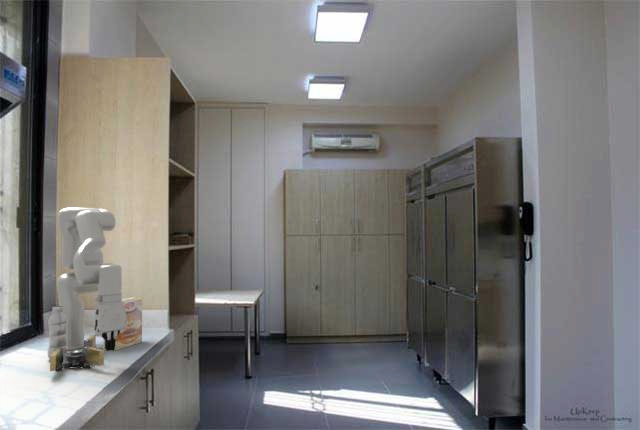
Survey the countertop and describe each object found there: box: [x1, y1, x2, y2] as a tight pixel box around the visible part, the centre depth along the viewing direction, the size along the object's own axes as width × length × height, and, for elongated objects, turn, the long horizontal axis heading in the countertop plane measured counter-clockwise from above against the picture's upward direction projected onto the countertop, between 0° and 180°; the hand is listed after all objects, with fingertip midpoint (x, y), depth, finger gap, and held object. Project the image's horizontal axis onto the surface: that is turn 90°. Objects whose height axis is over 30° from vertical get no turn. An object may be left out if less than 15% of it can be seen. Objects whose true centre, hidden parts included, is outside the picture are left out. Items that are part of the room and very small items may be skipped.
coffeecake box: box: [102, 297, 143, 351], centre depth 185 cm, size 15×7×20 cm, turn 158°
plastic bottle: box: [47, 305, 69, 360], centre depth 166 cm, size 6×7×20 cm
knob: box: [84, 334, 97, 348], centre depth 168 cm, size 11×3×8 cm, turn 17°
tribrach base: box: [62, 348, 83, 370], centre depth 157 cm, size 9×10×5 cm
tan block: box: [82, 346, 105, 370], centre depth 152 cm, size 11×3×8 cm, turn 57°
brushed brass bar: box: [49, 348, 64, 372], centre depth 148 cm, size 11×3×8 cm, turn 21°
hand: (110, 350), depth 154 cm, fingers closed
